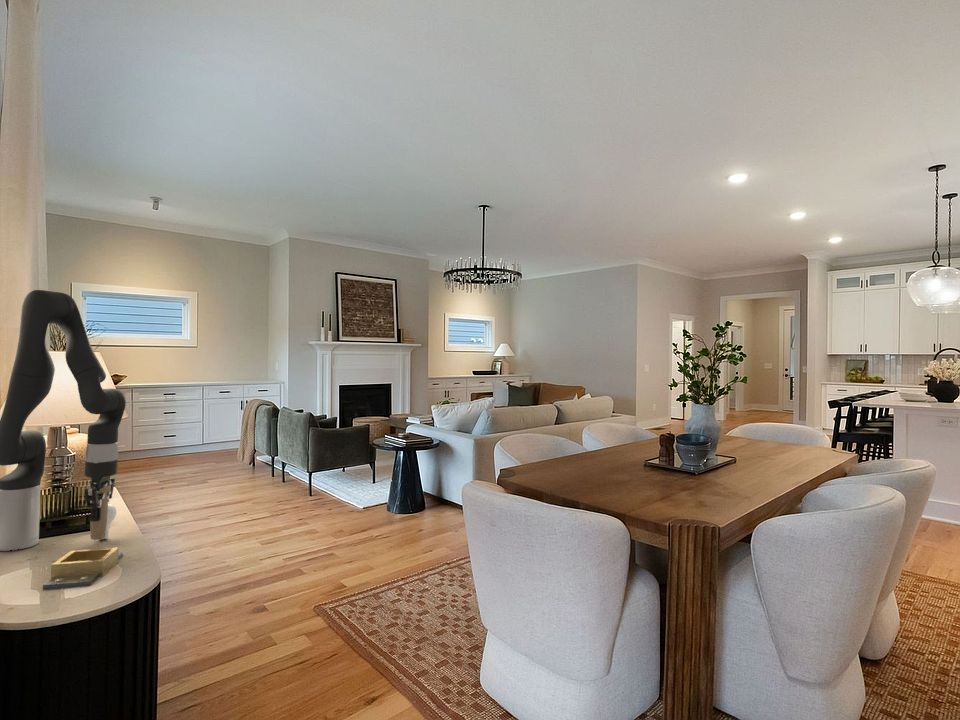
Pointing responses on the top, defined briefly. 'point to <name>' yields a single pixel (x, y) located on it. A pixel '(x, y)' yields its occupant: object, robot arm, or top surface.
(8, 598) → the top surface
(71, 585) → the wooden frame on plate
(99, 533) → the handle
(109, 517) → the lightbulb
